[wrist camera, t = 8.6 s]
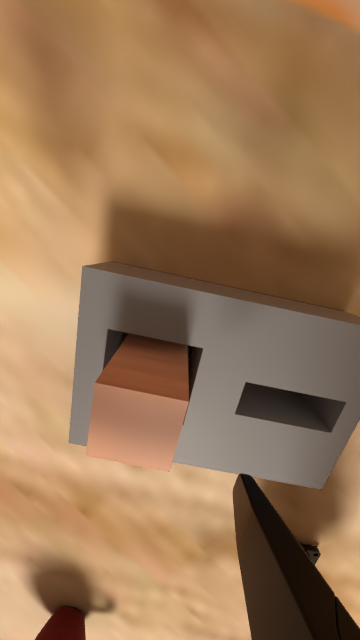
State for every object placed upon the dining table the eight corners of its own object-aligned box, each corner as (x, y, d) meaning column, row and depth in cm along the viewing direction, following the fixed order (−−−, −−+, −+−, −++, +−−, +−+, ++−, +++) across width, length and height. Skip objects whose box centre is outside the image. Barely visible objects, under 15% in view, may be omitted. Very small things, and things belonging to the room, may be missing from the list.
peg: (176, 373, 19) (169, 471, 11) (130, 363, 19) (85, 455, 11) (187, 330, 18) (189, 401, 10) (138, 319, 18) (94, 382, 9)
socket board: (290, 434, 21) (321, 489, 16) (96, 397, 20) (68, 442, 15) (344, 311, 17) (405, 334, 13) (112, 261, 17) (82, 266, 12)
